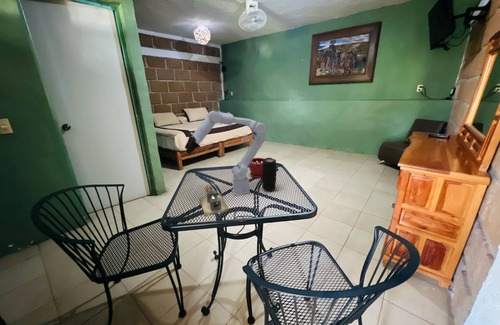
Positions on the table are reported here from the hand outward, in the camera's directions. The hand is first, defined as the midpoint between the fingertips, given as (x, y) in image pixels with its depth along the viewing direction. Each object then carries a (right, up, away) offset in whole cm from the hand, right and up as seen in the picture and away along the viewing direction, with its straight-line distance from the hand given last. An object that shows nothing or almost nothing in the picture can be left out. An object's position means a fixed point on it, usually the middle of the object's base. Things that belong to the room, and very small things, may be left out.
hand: (186, 150), depth 106 cm
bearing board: (+14, -29, +2) cm, 32 cm away
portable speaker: (+45, -23, +20) cm, 54 cm away
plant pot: (+39, -16, +42) cm, 59 cm away
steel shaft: (+12, -26, +5) cm, 29 cm away
